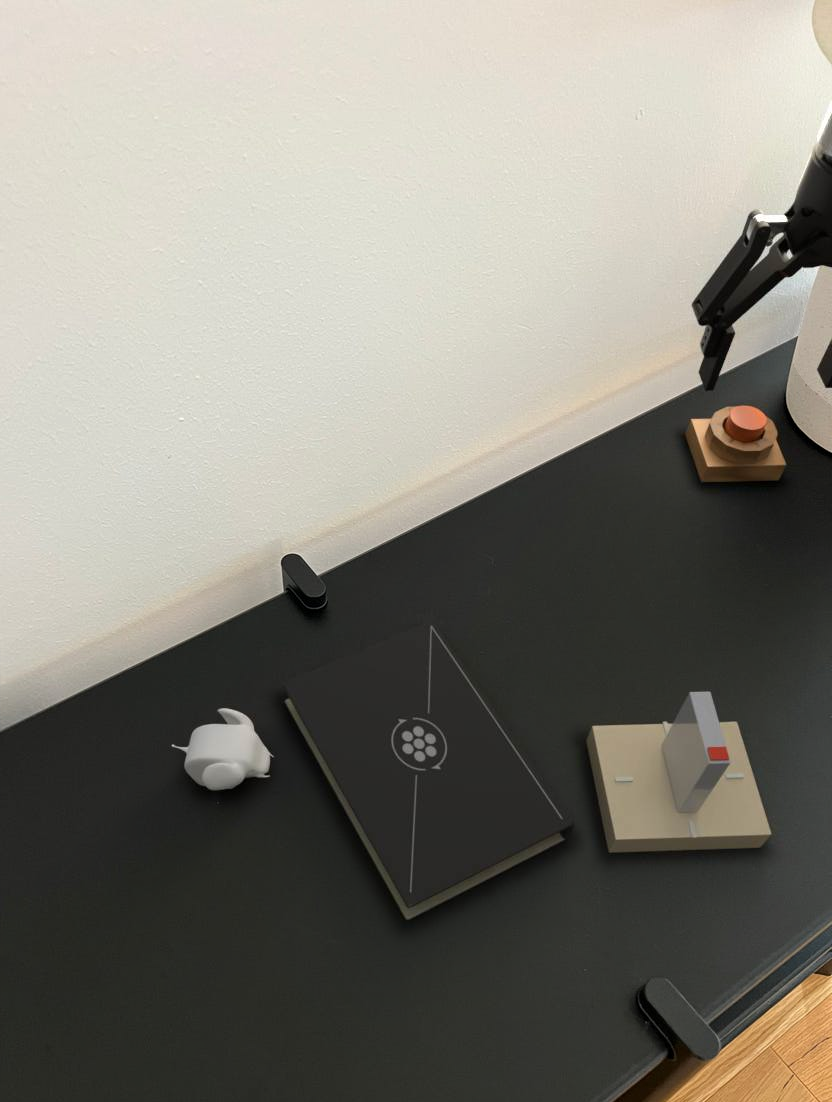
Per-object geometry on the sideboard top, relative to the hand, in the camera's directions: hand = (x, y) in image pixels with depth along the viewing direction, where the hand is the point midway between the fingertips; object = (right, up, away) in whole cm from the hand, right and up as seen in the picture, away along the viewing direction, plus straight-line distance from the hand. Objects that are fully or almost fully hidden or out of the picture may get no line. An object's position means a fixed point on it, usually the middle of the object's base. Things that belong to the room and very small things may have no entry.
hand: (765, 380), depth 94 cm
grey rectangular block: (-14, -36, -16) cm, 41 cm away
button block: (0, -6, +8) cm, 10 cm away
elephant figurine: (-50, -36, -13) cm, 63 cm away
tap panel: (-14, -37, -14) cm, 42 cm away
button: (0, -4, +5) cm, 6 cm away
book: (-34, -35, -13) cm, 50 cm away
